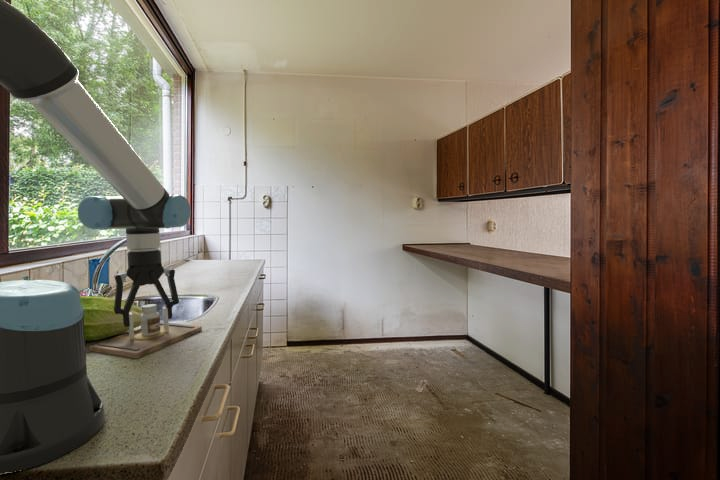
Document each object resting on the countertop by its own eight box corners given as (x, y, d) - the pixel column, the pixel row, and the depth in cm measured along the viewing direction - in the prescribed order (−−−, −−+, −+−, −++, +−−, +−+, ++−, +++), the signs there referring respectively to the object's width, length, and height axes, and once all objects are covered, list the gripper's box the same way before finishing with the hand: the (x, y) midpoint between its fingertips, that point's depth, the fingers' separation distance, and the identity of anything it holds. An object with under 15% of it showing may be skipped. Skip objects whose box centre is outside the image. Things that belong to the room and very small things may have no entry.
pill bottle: (151, 336, 89) (150, 307, 89) (137, 336, 90) (135, 307, 90) (164, 331, 94) (162, 303, 93) (150, 330, 95) (148, 303, 94)
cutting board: (136, 358, 80) (136, 351, 80) (89, 350, 85) (89, 344, 85) (201, 330, 98) (201, 325, 98) (160, 325, 104) (159, 320, 104)
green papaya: (150, 317, 93) (150, 284, 102) (41, 323, 81) (54, 285, 90) (146, 349, 99) (147, 314, 108) (45, 359, 87) (56, 319, 96)
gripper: (182, 246, 99) (186, 323, 101) (95, 252, 86) (101, 340, 88) (189, 247, 94) (193, 328, 95) (97, 254, 81) (104, 348, 82)
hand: (149, 334), depth 91 cm, fingers open, 7 cm apart
